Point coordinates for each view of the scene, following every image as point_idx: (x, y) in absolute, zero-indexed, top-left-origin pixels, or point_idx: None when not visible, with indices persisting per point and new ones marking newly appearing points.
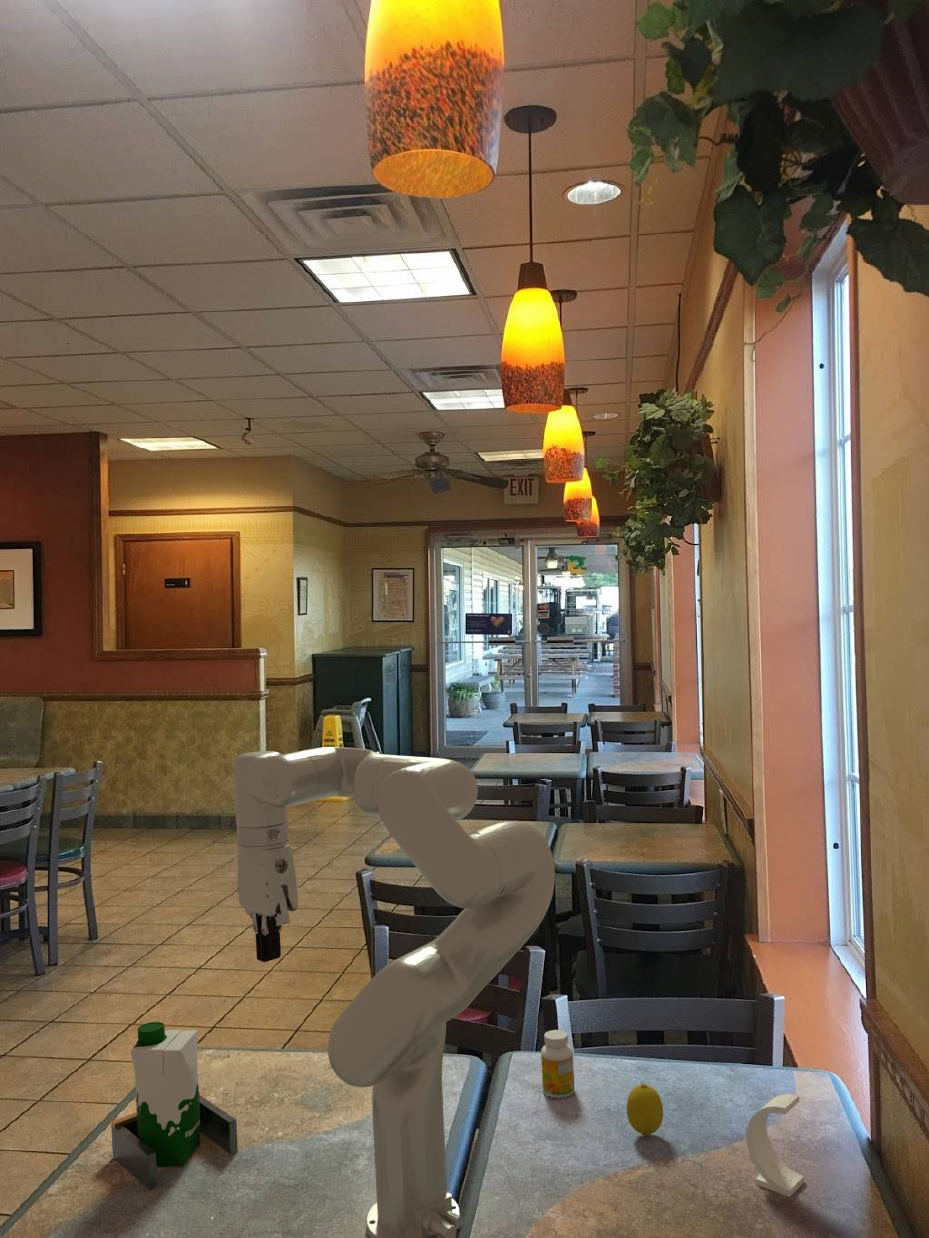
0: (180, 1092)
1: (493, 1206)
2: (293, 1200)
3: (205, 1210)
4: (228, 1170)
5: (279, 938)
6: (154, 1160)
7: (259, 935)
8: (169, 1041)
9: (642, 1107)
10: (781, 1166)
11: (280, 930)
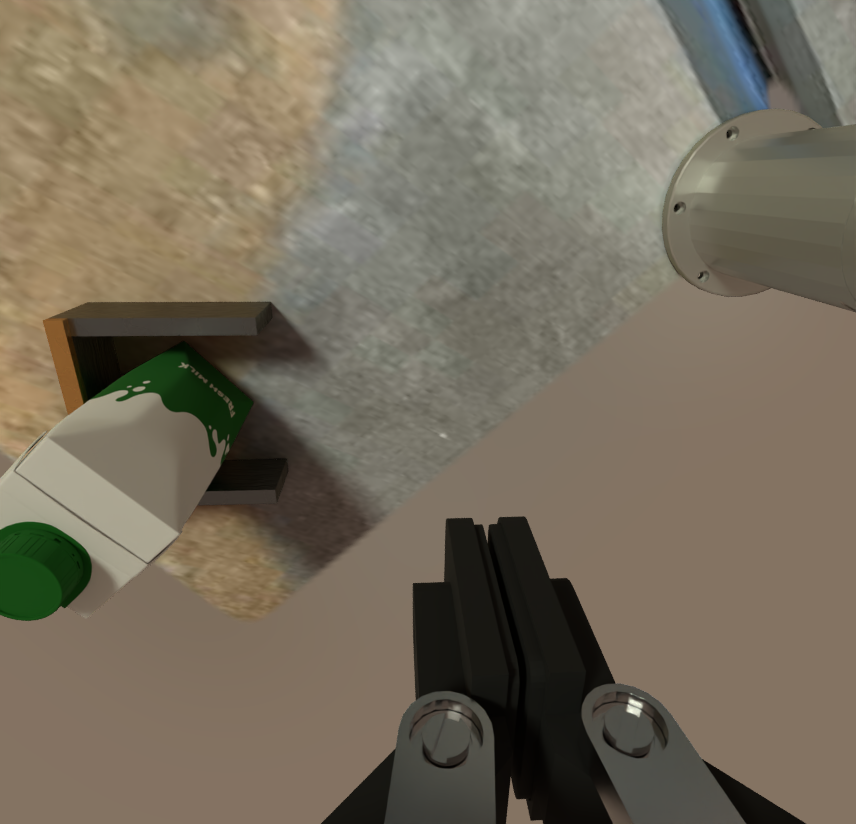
0: (203, 465)
1: (852, 47)
2: (508, 318)
3: (416, 434)
4: (325, 349)
5: (562, 615)
6: (278, 486)
7: (533, 815)
8: (99, 535)
9: None
10: None
11: (652, 705)
